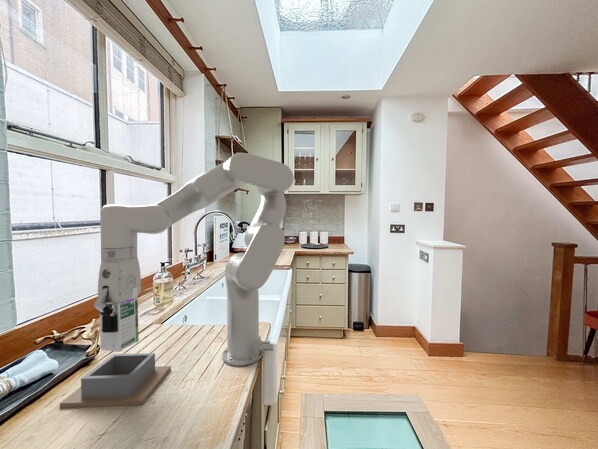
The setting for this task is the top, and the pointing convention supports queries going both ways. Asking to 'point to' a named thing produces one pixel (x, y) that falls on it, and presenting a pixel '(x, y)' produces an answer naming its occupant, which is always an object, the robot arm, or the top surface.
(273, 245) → the robot arm
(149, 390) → the caddy
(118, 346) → the syrup box
